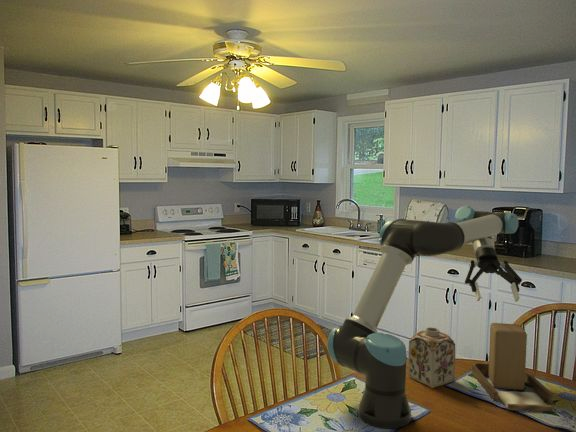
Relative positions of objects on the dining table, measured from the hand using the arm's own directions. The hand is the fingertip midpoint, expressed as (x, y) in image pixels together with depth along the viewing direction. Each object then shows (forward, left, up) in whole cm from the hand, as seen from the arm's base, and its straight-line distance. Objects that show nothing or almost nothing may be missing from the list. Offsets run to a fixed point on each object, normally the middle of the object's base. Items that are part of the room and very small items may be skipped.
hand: (498, 299), depth 174 cm
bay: (0, -16, -27) cm, 31 cm away
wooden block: (0, -11, -27) cm, 29 cm away
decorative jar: (-25, -9, -27) cm, 38 cm away
